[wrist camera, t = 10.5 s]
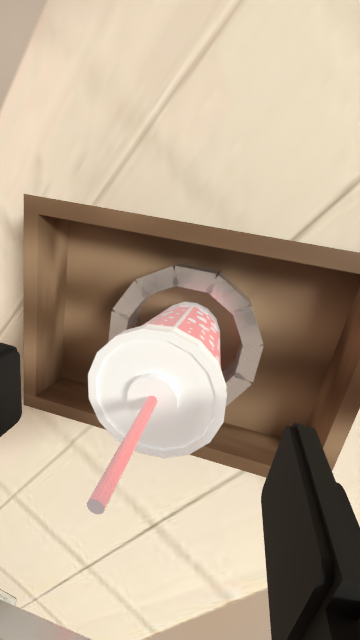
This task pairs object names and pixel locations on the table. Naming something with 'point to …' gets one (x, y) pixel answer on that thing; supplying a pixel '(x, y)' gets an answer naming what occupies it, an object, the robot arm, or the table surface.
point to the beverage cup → (158, 390)
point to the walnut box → (241, 268)
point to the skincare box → (7, 598)
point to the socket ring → (219, 288)
